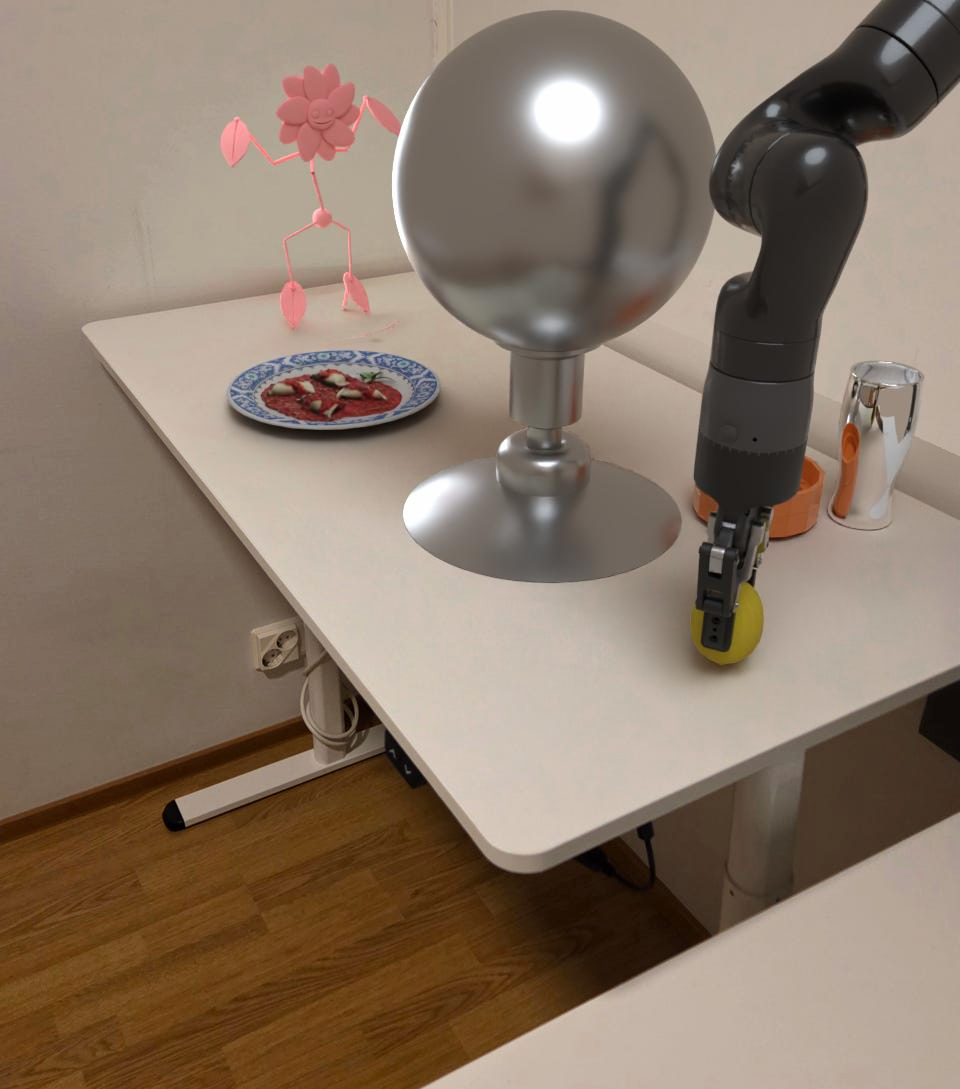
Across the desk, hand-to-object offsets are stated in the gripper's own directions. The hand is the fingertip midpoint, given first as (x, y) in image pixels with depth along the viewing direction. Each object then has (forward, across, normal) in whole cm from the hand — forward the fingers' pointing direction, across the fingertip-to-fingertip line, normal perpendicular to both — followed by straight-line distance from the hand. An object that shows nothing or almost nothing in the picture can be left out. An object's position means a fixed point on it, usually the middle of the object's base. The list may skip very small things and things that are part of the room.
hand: (726, 626), depth 85 cm
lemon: (+4, 0, 0) cm, 4 cm away
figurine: (+4, +58, +73) cm, 93 cm away
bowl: (+4, +27, +4) cm, 27 cm away
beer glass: (+4, +31, -6) cm, 32 cm away
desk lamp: (+4, +18, +23) cm, 29 cm away
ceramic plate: (+4, +33, +57) cm, 66 cm away
